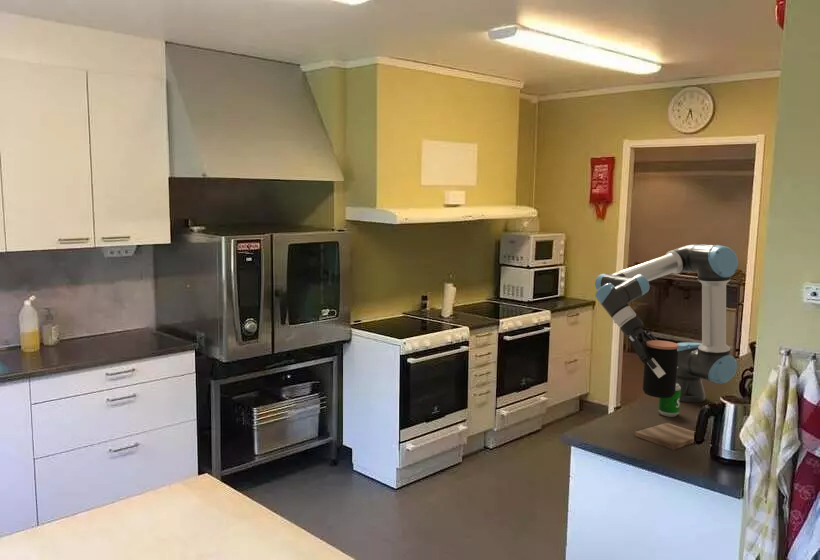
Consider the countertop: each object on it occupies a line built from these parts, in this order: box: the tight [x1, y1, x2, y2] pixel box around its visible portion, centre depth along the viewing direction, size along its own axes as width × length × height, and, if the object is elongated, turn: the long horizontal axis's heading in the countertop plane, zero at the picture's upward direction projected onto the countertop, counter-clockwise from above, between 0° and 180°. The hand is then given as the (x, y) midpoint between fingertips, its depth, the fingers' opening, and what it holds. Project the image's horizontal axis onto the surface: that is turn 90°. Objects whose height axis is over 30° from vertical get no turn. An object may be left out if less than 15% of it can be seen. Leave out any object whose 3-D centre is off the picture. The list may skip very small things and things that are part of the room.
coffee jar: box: [642, 339, 679, 399], centre depth 233 cm, size 11×11×18 cm
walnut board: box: [634, 422, 695, 450], centre depth 231 cm, size 18×15×2 cm
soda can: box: [657, 383, 681, 418], centre depth 256 cm, size 8×8×12 cm
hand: (668, 372), depth 231 cm, fingers closed on coffee jar, 11 cm apart
